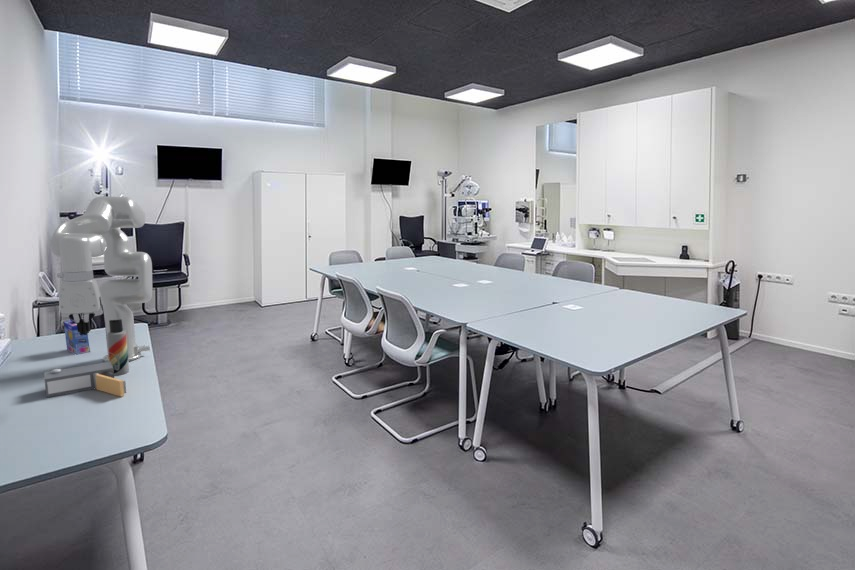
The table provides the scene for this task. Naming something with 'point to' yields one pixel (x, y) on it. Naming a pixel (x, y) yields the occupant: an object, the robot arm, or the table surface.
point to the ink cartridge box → (75, 338)
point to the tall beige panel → (109, 384)
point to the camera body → (75, 378)
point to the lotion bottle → (118, 347)
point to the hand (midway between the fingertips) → (84, 333)
